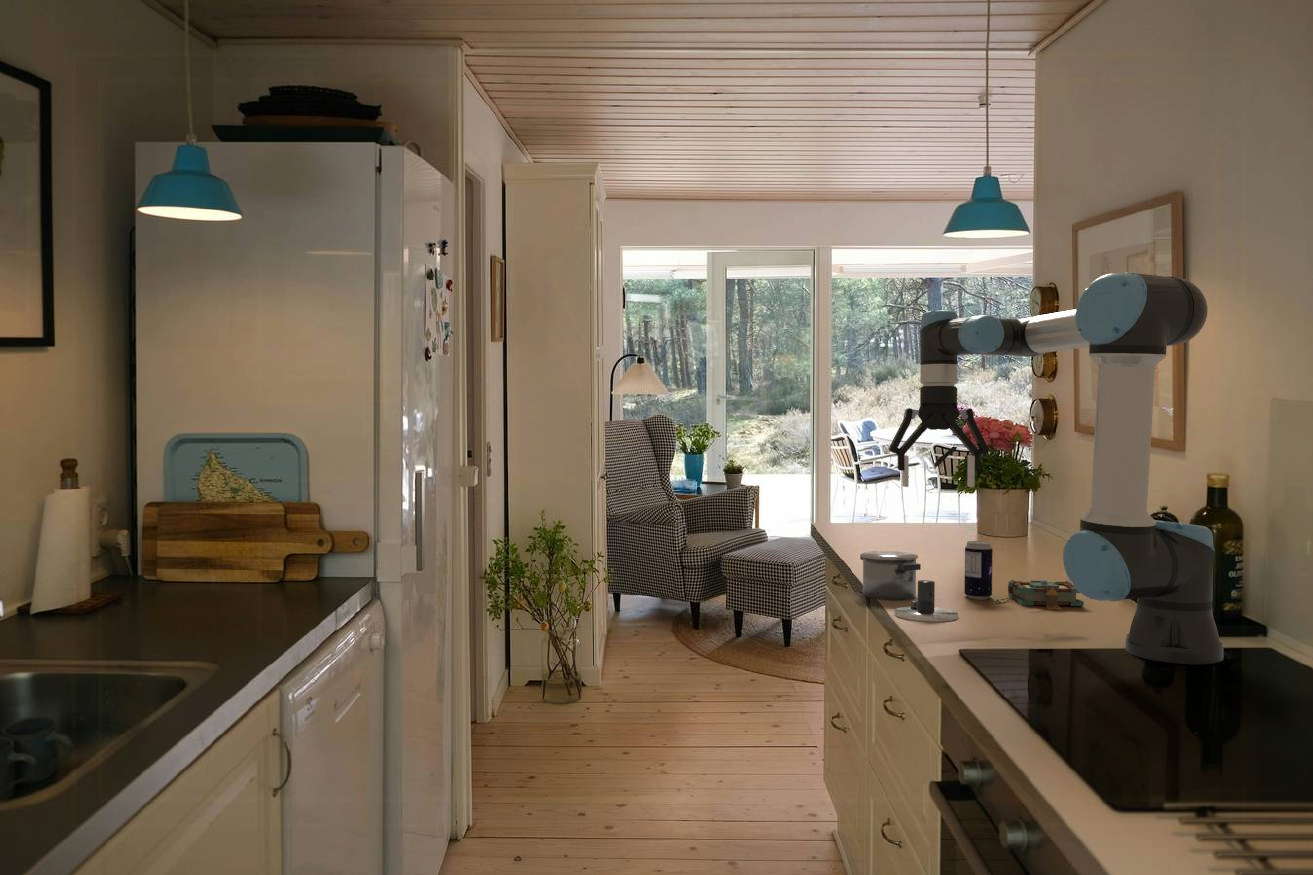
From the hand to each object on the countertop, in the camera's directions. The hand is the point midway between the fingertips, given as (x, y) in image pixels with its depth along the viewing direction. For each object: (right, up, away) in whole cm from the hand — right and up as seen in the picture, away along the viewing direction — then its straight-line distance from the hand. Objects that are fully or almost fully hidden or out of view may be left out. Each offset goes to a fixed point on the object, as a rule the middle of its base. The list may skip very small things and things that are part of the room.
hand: (938, 486), depth 214 cm
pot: (-9, -24, +7) cm, 27 cm away
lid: (-6, -25, -14) cm, 29 cm away
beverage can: (+10, -24, +5) cm, 27 cm away
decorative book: (+21, -25, +1) cm, 32 cm away
